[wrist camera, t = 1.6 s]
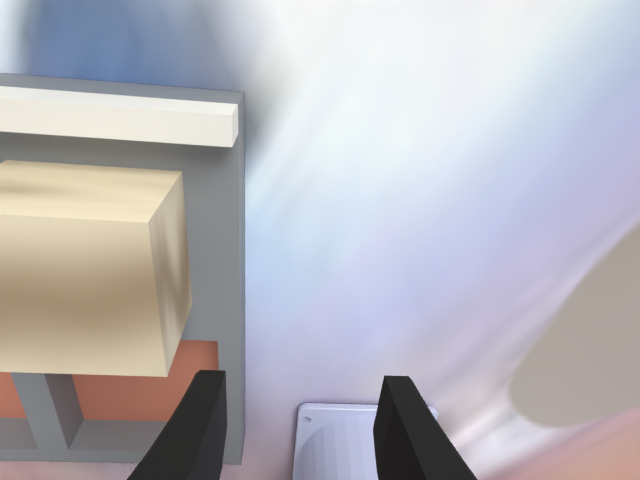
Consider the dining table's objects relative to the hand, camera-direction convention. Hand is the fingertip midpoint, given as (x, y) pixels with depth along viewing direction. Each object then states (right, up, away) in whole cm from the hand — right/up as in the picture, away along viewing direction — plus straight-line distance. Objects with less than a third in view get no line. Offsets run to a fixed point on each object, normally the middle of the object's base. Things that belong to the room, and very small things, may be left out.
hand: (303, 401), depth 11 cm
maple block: (-8, +4, +6) cm, 11 cm away
